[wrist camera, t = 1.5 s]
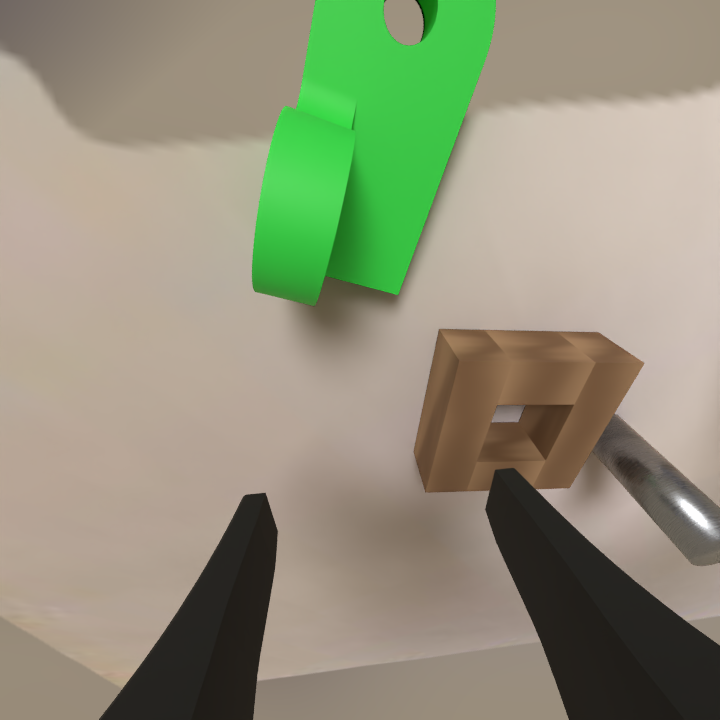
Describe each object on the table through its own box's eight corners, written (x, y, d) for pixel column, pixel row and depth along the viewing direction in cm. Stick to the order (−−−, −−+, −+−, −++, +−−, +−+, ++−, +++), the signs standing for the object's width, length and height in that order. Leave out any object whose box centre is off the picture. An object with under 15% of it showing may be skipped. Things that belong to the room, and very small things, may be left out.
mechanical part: (391, 281, 18) (429, 360, 11) (278, 250, 17) (243, 319, 10) (502, -33, 12) (725, -269, 5) (340, -118, 11) (361, -578, 4)
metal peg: (629, 413, 24) (765, 532, 17) (610, 443, 26) (727, 564, 18) (590, 413, 24) (712, 535, 16) (574, 443, 26) (678, 567, 18)
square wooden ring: (598, 332, 20) (644, 363, 17) (541, 449, 26) (569, 487, 23) (439, 329, 19) (459, 361, 16) (413, 451, 25) (425, 492, 22)
